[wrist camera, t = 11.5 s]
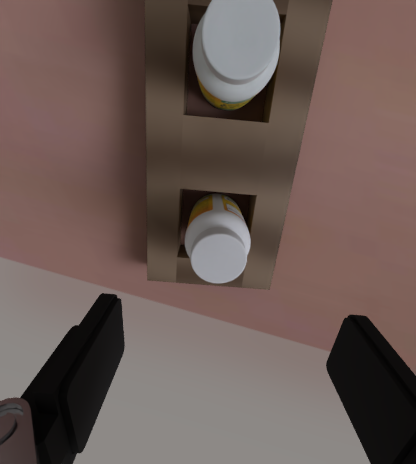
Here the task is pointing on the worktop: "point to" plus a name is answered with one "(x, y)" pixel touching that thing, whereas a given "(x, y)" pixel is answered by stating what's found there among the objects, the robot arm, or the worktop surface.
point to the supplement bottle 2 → (217, 239)
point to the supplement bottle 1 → (236, 50)
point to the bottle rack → (224, 137)
